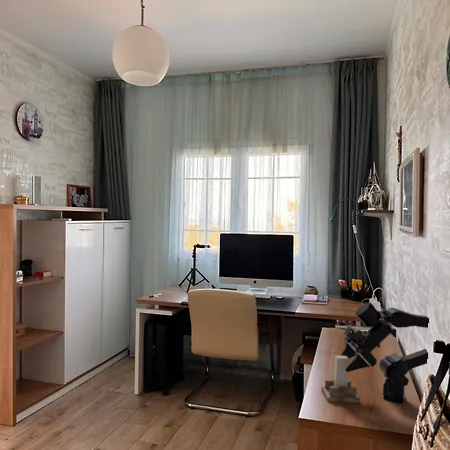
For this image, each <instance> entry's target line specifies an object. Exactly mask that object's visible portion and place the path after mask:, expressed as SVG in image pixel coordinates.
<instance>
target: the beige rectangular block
mask: <svg viewBox="0 0 450 450" xmlns="http://www.w3.org/2000/svg"><path fill="white" fill-rule="evenodd" d="M349 360H350V359H349V358H348V357H347V356H341V355H334V367H333V368H334V369H333V380H334V386H336V387H347V385H348V380H349V379H348V378H349V372H347V371H346V370H345V369H346V368H347V367H348V365H349V364H350V363H349V362H350V361H349Z"/></svg>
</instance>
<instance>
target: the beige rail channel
mask: <svg viewBox="0 0 450 450" xmlns="http://www.w3.org/2000/svg"><path fill="white" fill-rule="evenodd" d="M320 390H321V393H322V394H323V396H324V398H325V400H326V402H329V403H333V402H335V403H358V404H359V403H361V397H360V396H359V395H358V394H357V390H358V389H357V387H356V386H352V381H351V380H349V379H348V385H347V387H336V386H334V379H327V378H326V379H325V380H324V386H321V389H320Z"/></svg>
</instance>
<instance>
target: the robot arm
mask: <svg viewBox="0 0 450 450" xmlns="http://www.w3.org/2000/svg"><path fill="white" fill-rule="evenodd" d="M354 315H355V316H356V317H357V318H358V319H359V320H360V322H361V324H362V323H363V325H364V326H365V327H369V329H368V330H363V331H362V329H361V330H360V329H358V328H353V327H352V326H350V325H347V327H346V329H345V331H344V335H345V337H344V349H343V351H342V352H341V355H340V356H347V357H348V358H349V360H350V359H352V358H353V357H354V358H353V359H352V360H351V362H350V363H348V367H347V368H346V369H345V370H346V371H347V372H348V373H349V372H350V373H351V372H353V371H356V370H361V369H365V368H370V367H372V368H373V367H374V366H375V365H377V362H378V361H377V358H376V356H375V357H374V355H373V353H372V352H373V351H374V350H375V349H376V348H378V349H379V348H380V347H381V345H380V344H381V343H382V342H383V341H384V340H386V339H387V338H388V337H389V336H392V337H394V338H395V339H396V338H397V329H396V328H399V329H400V328H401V329H402V328H410V327H418V328H426V329H429V328H428V323H429V318H428V317H427V315H421V314H415V313H409V312H407V311H404V310H401V309H398V308H395V307H389V308H388V309H386V310H380V311H378V309H377V308H375V305H374V304H372V303H371V302H370V301H368V302H367V303H366V304H363V305H362V306H359V307H358V308H357V309H356V311H355V313H354ZM383 321H384V322H383ZM388 323H389V324H388ZM390 325H391V326H393V327H391V326H390ZM394 327H395V328H394ZM383 356H384V357H383V358H381V360H380V362H379V363H378V364H379V365H378V367H379V370H380V371H381V372H382V373H383V376H384V377H385V380H384V383H383V385H382V386H383V387H382V390H383V391H382V396H383V399H384V400H386V401H391V402H395V403H399V404H404V403H405V399H406V397H407V396H406V386H408V384H409V382H410V380H409V379H408V377H407V376H406V375H407V374H408V372H409V371H410V370H413V369H415V368H417V367H421V366H424V365H426V364H428V363H427V359H428V352H427V350H426V348H423V349H420V350H418V351H416V352H415V351H414V352H413V353H409V354H406V355H403V356H400V355H399V354H398V353H396V352H393V353H391V354H389V355H383Z"/></svg>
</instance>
